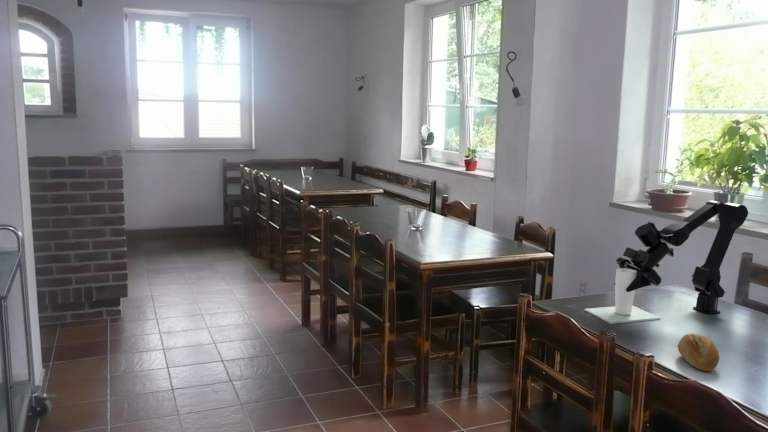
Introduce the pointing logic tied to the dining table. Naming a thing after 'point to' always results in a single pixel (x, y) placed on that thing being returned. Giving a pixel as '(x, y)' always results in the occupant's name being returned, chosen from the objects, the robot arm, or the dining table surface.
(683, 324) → the dining table surface
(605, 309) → the pad
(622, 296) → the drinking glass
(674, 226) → the robot arm
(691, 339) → the bread roll
